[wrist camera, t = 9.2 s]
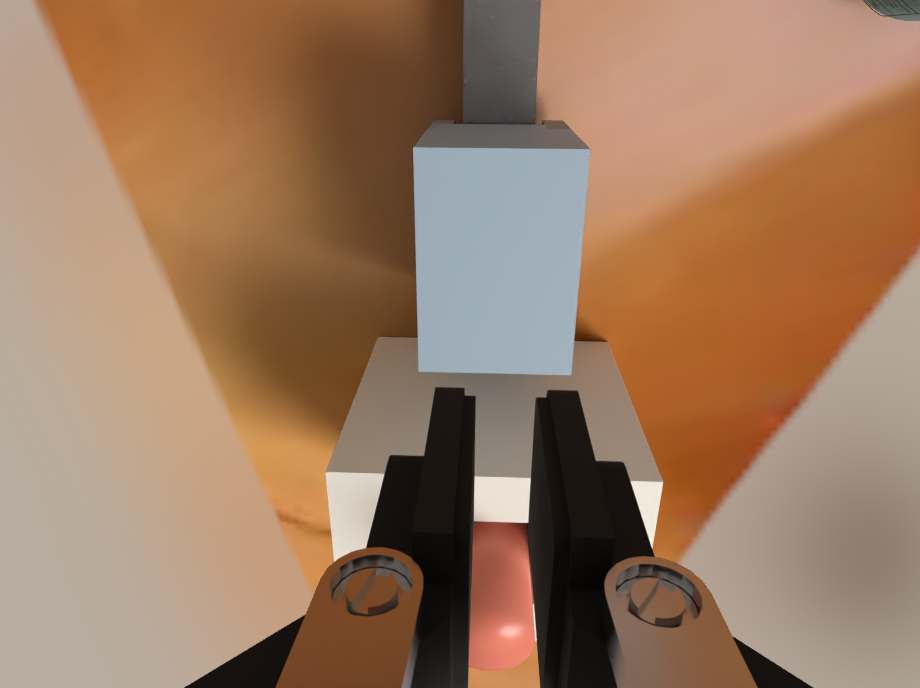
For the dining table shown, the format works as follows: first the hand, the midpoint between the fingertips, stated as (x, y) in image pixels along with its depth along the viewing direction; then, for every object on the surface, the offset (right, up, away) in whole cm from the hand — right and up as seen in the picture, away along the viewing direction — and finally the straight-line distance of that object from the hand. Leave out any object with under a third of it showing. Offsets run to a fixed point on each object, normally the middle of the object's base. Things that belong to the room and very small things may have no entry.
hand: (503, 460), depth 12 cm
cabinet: (+1, -1, +24) cm, 24 cm away
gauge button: (+1, -5, +16) cm, 17 cm away
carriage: (+1, +8, +18) cm, 20 cm away
